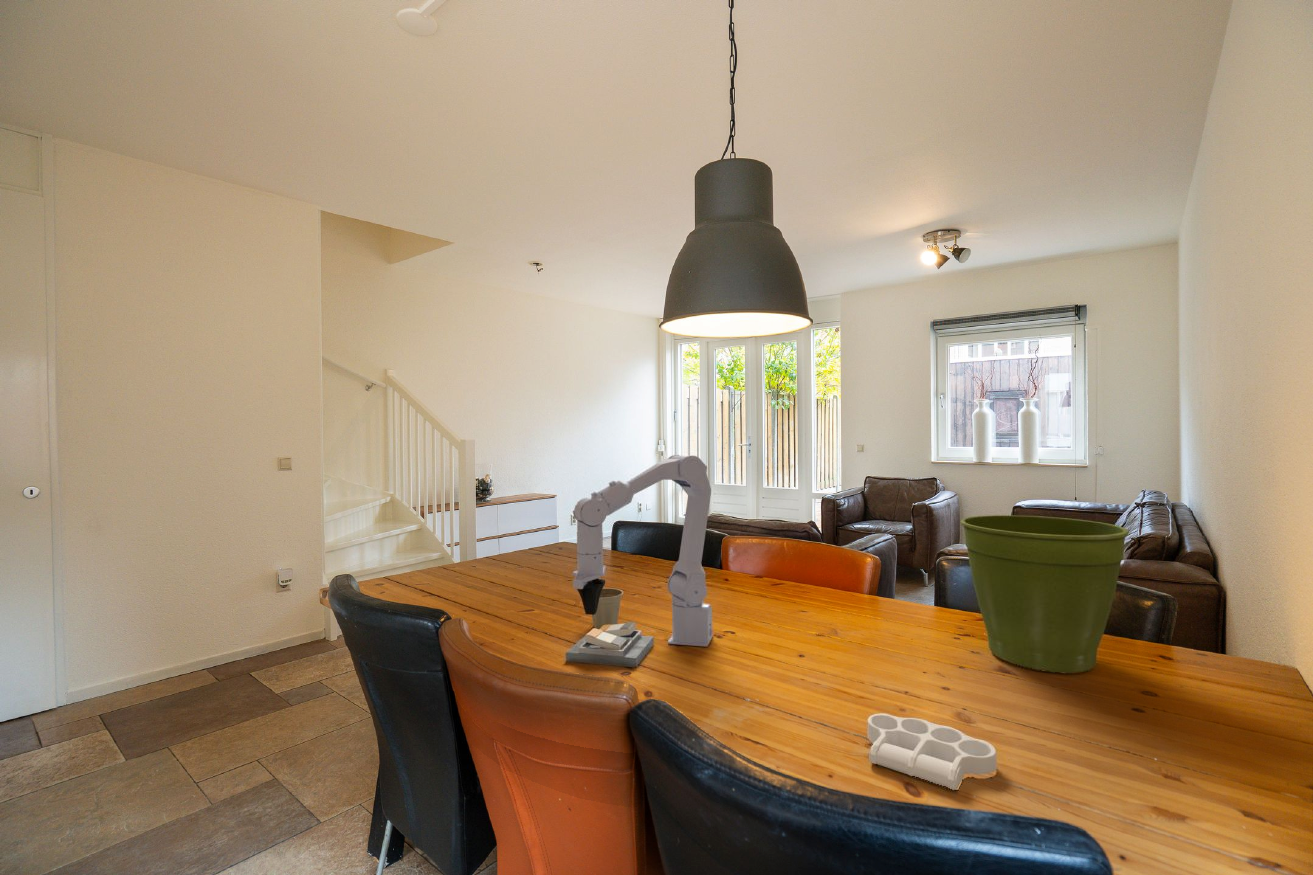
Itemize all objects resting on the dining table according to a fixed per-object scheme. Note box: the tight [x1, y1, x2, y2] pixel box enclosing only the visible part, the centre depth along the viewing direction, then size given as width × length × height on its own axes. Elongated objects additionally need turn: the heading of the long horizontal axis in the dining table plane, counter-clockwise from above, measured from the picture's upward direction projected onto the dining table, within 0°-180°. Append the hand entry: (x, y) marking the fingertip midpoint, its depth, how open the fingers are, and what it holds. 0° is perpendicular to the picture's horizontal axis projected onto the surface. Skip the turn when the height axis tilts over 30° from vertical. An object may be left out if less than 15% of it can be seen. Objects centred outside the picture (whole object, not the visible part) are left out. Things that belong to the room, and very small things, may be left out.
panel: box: [565, 629, 655, 668], centre depth 133 cm, size 16×14×3 cm
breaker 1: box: [585, 627, 627, 650], centre depth 130 cm, size 8×4×2 cm, turn 75°
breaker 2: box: [599, 621, 637, 636], centre depth 137 cm, size 8×4×2 cm, turn 75°
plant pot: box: [960, 514, 1129, 674], centre depth 126 cm, size 30×30×29 cm
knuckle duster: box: [866, 712, 998, 791], centre depth 88 cm, size 3×18×15 cm
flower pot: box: [591, 587, 624, 629], centre depth 153 cm, size 9×9×9 cm
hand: (590, 613), depth 131 cm, fingers closed
